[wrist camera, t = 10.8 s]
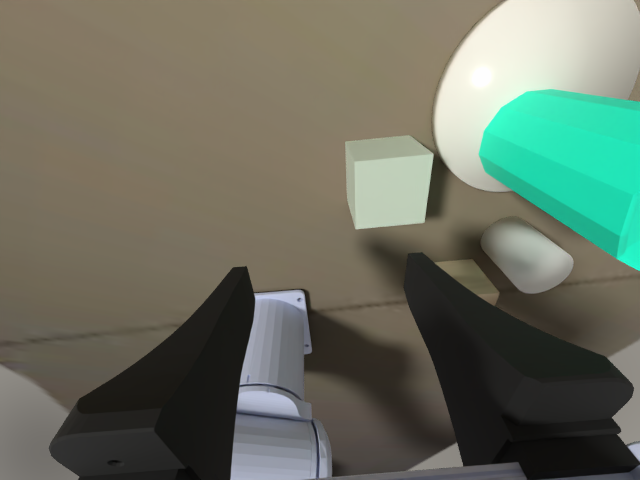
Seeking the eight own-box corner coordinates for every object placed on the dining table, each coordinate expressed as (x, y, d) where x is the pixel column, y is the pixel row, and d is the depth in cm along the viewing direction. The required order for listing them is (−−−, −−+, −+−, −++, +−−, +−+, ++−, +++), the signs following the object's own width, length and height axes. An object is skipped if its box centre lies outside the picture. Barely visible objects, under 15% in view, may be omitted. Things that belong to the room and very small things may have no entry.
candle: (547, 64, 17) (912, 82, 7) (587, 132, 19) (902, 221, 9) (461, 144, 19) (635, 246, 9) (506, 196, 21) (684, 323, 11)
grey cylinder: (519, 253, 26) (559, 291, 22) (475, 256, 26) (508, 295, 22) (534, 214, 24) (583, 249, 20) (487, 218, 24) (525, 253, 20)
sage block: (404, 194, 22) (424, 222, 19) (347, 199, 22) (355, 229, 19) (409, 134, 20) (433, 154, 16) (345, 141, 20) (354, 161, 16)
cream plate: (573, 179, 22) (586, 185, 21) (420, 191, 22) (426, 198, 21) (667, -30, 16) (692, -35, 15) (449, -12, 16) (459, -17, 15)
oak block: (462, 293, 29) (485, 330, 25) (417, 297, 29) (434, 334, 25) (471, 258, 26) (499, 292, 23) (423, 262, 26) (443, 297, 23)
